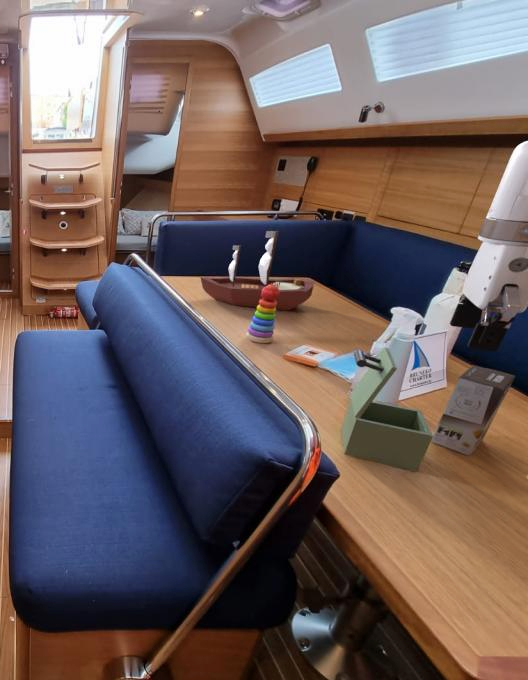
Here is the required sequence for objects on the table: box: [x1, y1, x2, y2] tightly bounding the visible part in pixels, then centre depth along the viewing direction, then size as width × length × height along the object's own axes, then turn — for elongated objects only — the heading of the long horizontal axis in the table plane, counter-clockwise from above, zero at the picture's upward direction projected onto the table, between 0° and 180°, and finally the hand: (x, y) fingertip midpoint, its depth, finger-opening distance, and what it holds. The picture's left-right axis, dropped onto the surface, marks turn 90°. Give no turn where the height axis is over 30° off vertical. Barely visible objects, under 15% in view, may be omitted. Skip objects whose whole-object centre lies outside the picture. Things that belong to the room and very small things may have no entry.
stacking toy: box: [245, 285, 280, 344], centre depth 136 cm, size 8×8×19 cm
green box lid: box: [349, 347, 398, 418], centre depth 85 cm, size 12×10×5 cm
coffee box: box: [430, 364, 516, 456], centre depth 86 cm, size 9×6×16 cm
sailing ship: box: [200, 230, 315, 312], centre depth 165 cm, size 18×40×29 cm, turn 63°
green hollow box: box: [340, 399, 433, 473], centre depth 87 cm, size 12×10×9 cm
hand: (471, 337), depth 68 cm, fingers open, 9 cm apart
